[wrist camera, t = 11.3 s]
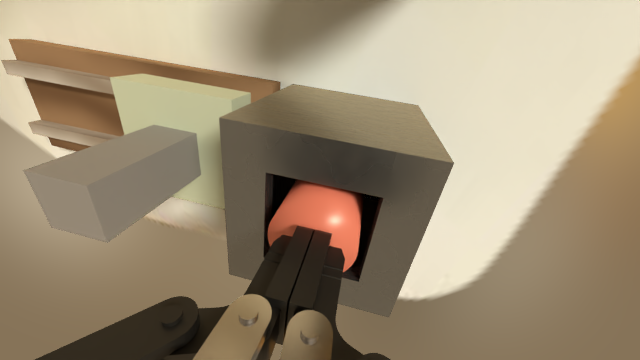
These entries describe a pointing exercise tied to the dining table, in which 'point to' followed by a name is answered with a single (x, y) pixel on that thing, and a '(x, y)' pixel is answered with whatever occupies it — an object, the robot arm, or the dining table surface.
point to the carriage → (141, 158)
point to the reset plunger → (321, 215)
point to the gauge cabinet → (334, 179)
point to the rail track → (98, 88)
